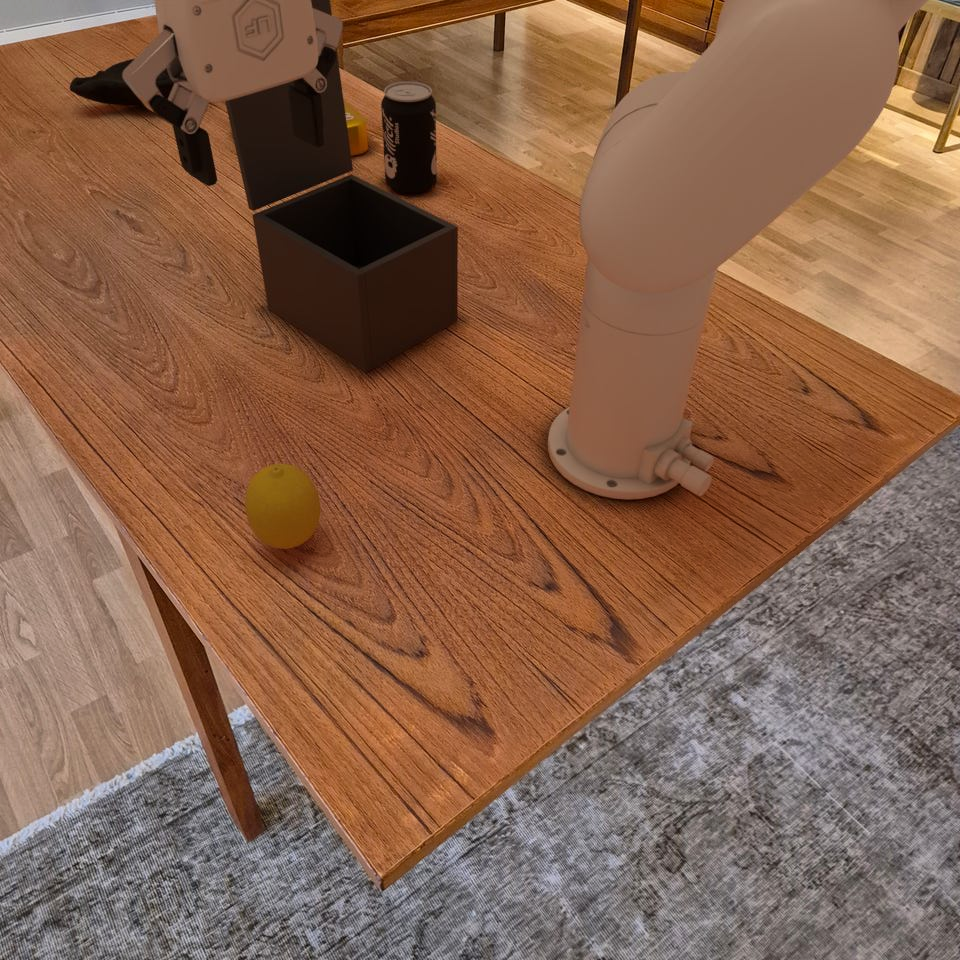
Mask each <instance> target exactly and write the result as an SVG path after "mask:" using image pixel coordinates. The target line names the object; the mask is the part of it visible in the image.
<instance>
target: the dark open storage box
mask: <svg viewBox="0 0 960 960" xmlns="http://www.w3.org/2000/svg"><path fill="white" fill-rule="evenodd" d="M251 216H252V222H253V228H254V233H255V239H256V245H257V250H258V251H257V252H258V256H259V263H260V268H261V274H262V280H263V286H264V291H265V297H266V304H267V309H268V310H269V311H271V312H272V313H273V314H275V315H276V316H277V317H280V318H281V319H283V320H284V321H286V322H287V323H289V324H290V325H292V326H293V327H294V328H297V329H298V330H299V331H301V332H303V333H304V334H306V335H307V336H308V337H310V338H312V339H314V340H315V341H317V342H318V343H319V344H321V345H323V346H324V347H325V348H327V349H329V351H331V352H333V353H334V354H336V355H338V356H339V357H341V358H342V359H344V360H346V361H347V362H348V363H350V364H352V365H353V366H355V367H356V368H358V369H359V370H360V371H362V372H364V373H366V374H367V373H370V372H371V371H373V370H374V369H376V368H378V367H380V366H381V365H384V364H385V363H387V362H389V361H390V360H392V359H394V358H395V357H397V356H399V355H401V354H402V353H405V352H407V351H408V350H409V349H411V348H413V347H415V346H416V345H419V344H420V343H422V342H424V341H425V340H427V339H429V338H431V337H432V336H434V335H437V333H439V332H441V331H443V330H444V329H446V328H448V327H450V326H452V325H453V324H456V323H457V322H458V309H459V308H458V305H459V304H458V299H459V298H458V297H459V296H458V295H459V294H458V292H459V289H458V285H459V284H458V281H459V279H458V276H459V275H458V274H459V273H458V271H459V270H458V269H459V267H458V265H459V263H458V262H459V253H458V252H459V250H458V249H459V248H458V247H459V227H458V226H457V225H456V224H453V223H451V222H450V221H447V220H446V219H443V218H441V217H439V216H437V215H435V214H433V213H431V212H429V211H427V210H425V209H423V208H421V207H419V206H417V205H415V204H413V203H411V202H409V201H406V200H405V199H403V198H401V197H399V196H396V195H394V194H393V193H391V192H388V191H386V190H384V189H383V188H380V187H378V186H377V185H375V184H372V183H370V182H368V181H366V180H364V179H362V178H360V177H358V176H356V175H354V174H352V173H351V174H348V175H346V176H344V177H341V178H338V179H336V180H334V181H331V182H329V183H326V184H324V185H322V186H319V187H317V188H315V189H312V190H310V191H306V192H304V193H302V194H300V195H297V196H295V197H292V198H290V199H287V200H285V201H283V202H279V203H277V204H275V205H273V206H270V207H268V208H266V209H263V210H261V211H257V212H255V213H253V214H252V215H251Z"/></svg>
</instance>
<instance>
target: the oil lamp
mask: <svg viewBox="0 0 960 960" xmlns="http://www.w3.org/2000/svg"><path fill="white" fill-rule="evenodd" d="M134 59H135V58H130V59H127V60H124V61H121V62H118V63H114V64H112V65H110V66H109V67H108V68H106V69H105V70H98V71H97V72H96V73H95V74H94V75H92V76H86V77H78V76H76V77H74V78H73V79H72V80H71V82H70V85H69V91H70V92H71V93H73V94H75V95H77V96H79V97H81V98H83V99H86V100H89V101H92V102H95V103H100V104H104V105H105V104H107V105H115V106H128V107H129V106H130V107H143V108H146V107H145V106H144V105H143V104H142V101H141V100H140V99H139V98H138V97H137V96H136V95H135V93H134V92H133V91H132V90H131V88H130V87H129V86H128V85H127V84H126V82H125V81H124V79H123V77H122V74H123V71H124V69H125V68H126V67H127V66H128V65H129V64H130V63H131V62H132V61H133V60H134ZM156 86H157V88H158V89H159V90H160V92H161V94H162V95H163V96H164V97H165V98H166V99H168V97H169V95H170V93H171V90H172V88H173V86H174V82H173V81H172V80H171V78H170V76H169V73H168V70H167V68H166V69H165V70H164V71H163V72H162V73H161V74H160V75H159V76H158V77H157V79H156Z"/></svg>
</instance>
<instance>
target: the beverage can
mask: <svg viewBox="0 0 960 960" xmlns="http://www.w3.org/2000/svg"><path fill="white" fill-rule="evenodd" d="M432 94H433V89H432V87H431V86H429V85H427V84H425V83H423V82H418V81H398V82H394V83H391V84H388V85H387V86H385V87H384V89H383V95H384V96H383V97H382V100H381V103H380V108H381V124H382V125H381V127H382V141H383V143H382V145H383V160H384V163H383V164H384V176H385V177H384V178H385V179H384V180H385V183H386V185H387V186H388V187H389V188H390V189H391V190H392V191H393V192H395V193H397V194H399V195H405V196H417V195H422V194H425V193H427V192H429V191H430V190H431V189H432V188H433V187H435V184H436V183H437V181H438V170H437V169H438V168H437V167H438V166H437V165H438V164H437V163H438V162H437V102H436V100H435V98H434V96H433V95H432Z"/></svg>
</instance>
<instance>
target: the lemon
mask: <svg viewBox="0 0 960 960" xmlns="http://www.w3.org/2000/svg"><path fill="white" fill-rule="evenodd" d="M244 510H245V516H246V519H247V522H248V525H249V527H250V529H251V531H252V532H253V534H254V535H255V536H256V537H257V538H258V540H260V541H261V542H262V543H264V544H266V545H267V546H270V547H272V548H275V549H280V550H281V549H283V550H285V549H286V550H287V549H293V548H296V547H299V546H300V545H303V544H304V543H305V542H307V541H308V540H309V539H310V538H311V537H312V536H313V535H314V533H315V532H316V531H317V528H318V526H319V522H320V517H321V502H320V497H319V492H318V490H317V488H316V486H315V484H314V482H313V481H312V479H311V477H310V476H309V474H307V473H306V472H305V471H304V470H302V469H301V468H299V467H297V466H295V465H292V464H289V463H273V464H271V465H267V466H265V467H263V468H261V469H260V470H259V471H257V472H256V473H255V474H254V475H253V476H252V478H251V480H250V481H249V483H248V485H247V487H246V492H245V501H244Z"/></svg>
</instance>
